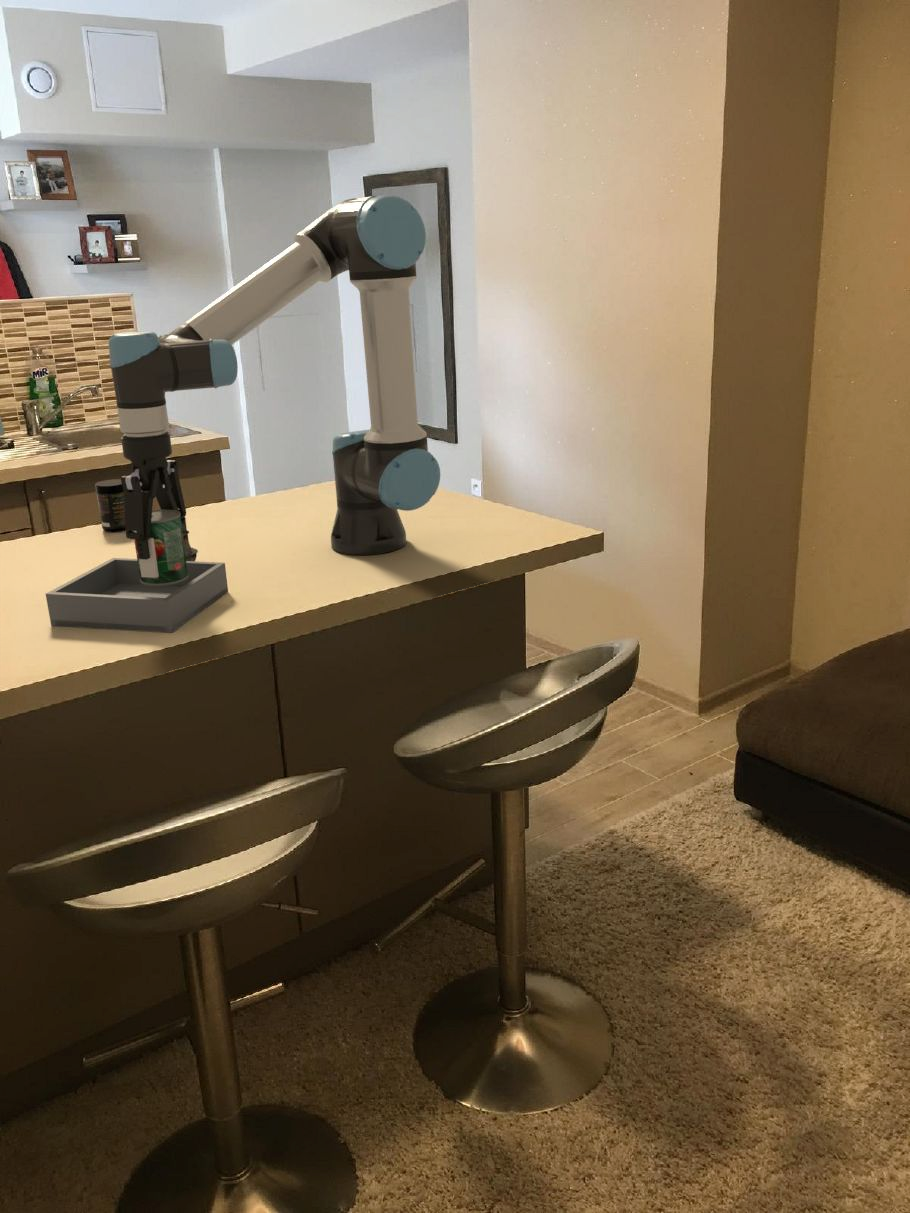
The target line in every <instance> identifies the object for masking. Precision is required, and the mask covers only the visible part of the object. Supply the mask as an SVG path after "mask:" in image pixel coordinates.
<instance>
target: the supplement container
mask: <svg viewBox="0 0 910 1213" xmlns="http://www.w3.org/2000/svg"><path fill="white" fill-rule="evenodd" d="M94 485H95V493H96V498H97V503H98V504H97V505H98V510H99V516H100V523H101V528H102V530H103V531H104V532H106V533H121V532H122V531H123V532H126V526H125V506H124V490H123V486H122V482H121V478H119V479H118V478H117V479H115V478H113V479H107V480H101V481H97V482H96V483H94Z"/></svg>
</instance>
